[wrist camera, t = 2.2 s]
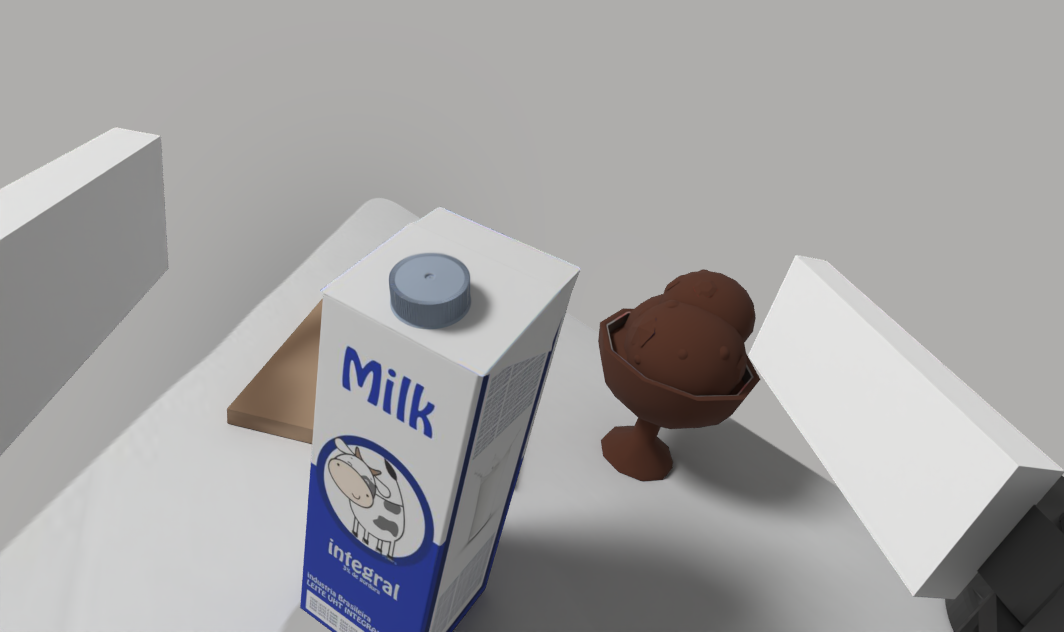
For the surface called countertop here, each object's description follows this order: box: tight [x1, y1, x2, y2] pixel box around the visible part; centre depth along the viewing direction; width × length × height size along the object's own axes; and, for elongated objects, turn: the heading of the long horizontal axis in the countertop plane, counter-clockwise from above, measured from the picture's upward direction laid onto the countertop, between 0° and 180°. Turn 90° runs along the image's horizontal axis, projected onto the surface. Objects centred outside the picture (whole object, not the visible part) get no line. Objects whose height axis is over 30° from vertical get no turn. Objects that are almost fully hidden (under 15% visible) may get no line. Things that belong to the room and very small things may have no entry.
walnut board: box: [227, 299, 323, 444], centre depth 48 cm, size 18×18×1 cm
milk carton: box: [301, 207, 581, 632], centre depth 28 cm, size 7×7×20 cm
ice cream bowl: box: [598, 270, 760, 481], centre depth 44 cm, size 11×11×15 cm
